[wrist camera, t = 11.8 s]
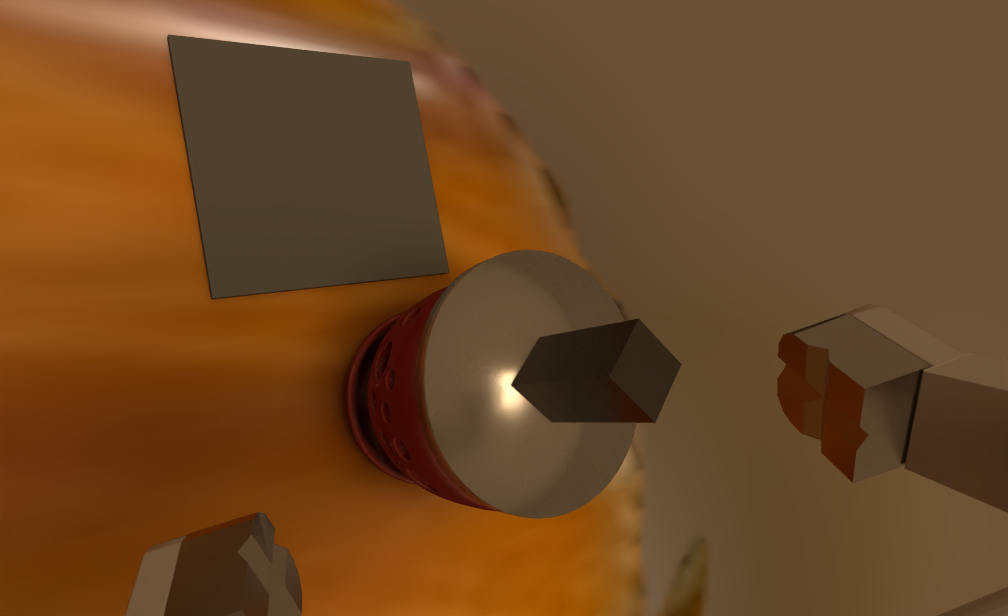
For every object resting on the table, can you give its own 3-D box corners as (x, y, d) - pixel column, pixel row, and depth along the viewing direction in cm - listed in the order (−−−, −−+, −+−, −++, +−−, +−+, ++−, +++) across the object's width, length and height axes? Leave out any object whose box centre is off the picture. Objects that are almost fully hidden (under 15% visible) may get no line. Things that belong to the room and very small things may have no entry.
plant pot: (395, 534, 41) (495, 570, 31) (294, 360, 39) (366, 339, 29) (530, 423, 48) (645, 424, 38) (450, 272, 46) (550, 231, 36)
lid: (558, 566, 33) (683, 605, 26) (358, 408, 28) (447, 404, 21) (655, 360, 39) (777, 347, 33) (507, 203, 35) (612, 150, 28)
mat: (446, 273, 46) (449, 272, 45) (211, 299, 36) (212, 298, 36) (407, 64, 46) (409, 61, 46) (167, 38, 37) (168, 34, 37)
